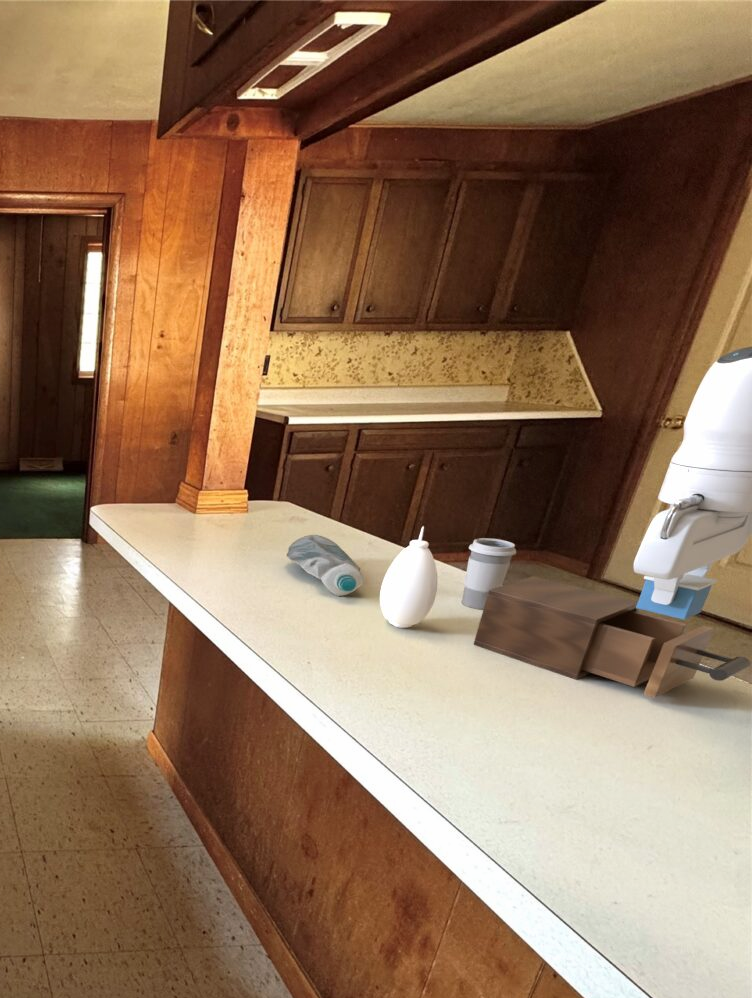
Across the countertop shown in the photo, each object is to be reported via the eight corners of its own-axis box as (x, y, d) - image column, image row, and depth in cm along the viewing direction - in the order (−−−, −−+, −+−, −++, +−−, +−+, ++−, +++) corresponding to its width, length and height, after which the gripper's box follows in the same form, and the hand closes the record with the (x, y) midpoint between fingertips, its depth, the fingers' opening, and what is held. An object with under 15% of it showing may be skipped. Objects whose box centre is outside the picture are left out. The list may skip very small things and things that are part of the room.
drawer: (742, 693, 89) (766, 641, 86) (704, 714, 85) (728, 660, 82) (584, 645, 104) (600, 599, 101) (544, 661, 100) (560, 613, 97)
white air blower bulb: (427, 638, 110) (453, 534, 103) (372, 629, 114) (394, 529, 107) (426, 622, 116) (451, 523, 109) (374, 614, 120) (395, 518, 113)
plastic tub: (704, 612, 83) (717, 579, 81) (685, 621, 81) (699, 587, 79) (650, 600, 87) (662, 568, 85) (632, 607, 85) (644, 575, 83)
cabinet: (619, 660, 101) (641, 602, 97) (575, 679, 96) (597, 619, 92) (516, 628, 112) (533, 575, 109) (473, 644, 107) (488, 589, 104)
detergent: (278, 560, 149) (303, 598, 126) (285, 529, 146) (312, 562, 124) (341, 567, 146) (379, 608, 124) (350, 536, 143) (390, 572, 121)
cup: (467, 595, 127) (483, 535, 122) (507, 606, 121) (526, 544, 117) (446, 603, 124) (462, 541, 119) (486, 614, 118) (505, 550, 114)
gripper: (714, 507, 71) (669, 623, 77) (788, 483, 80) (742, 589, 85) (637, 496, 77) (600, 606, 82) (714, 475, 85) (675, 576, 90)
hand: (673, 597), depth 83 cm, fingers closed on plastic tub, 4 cm apart
